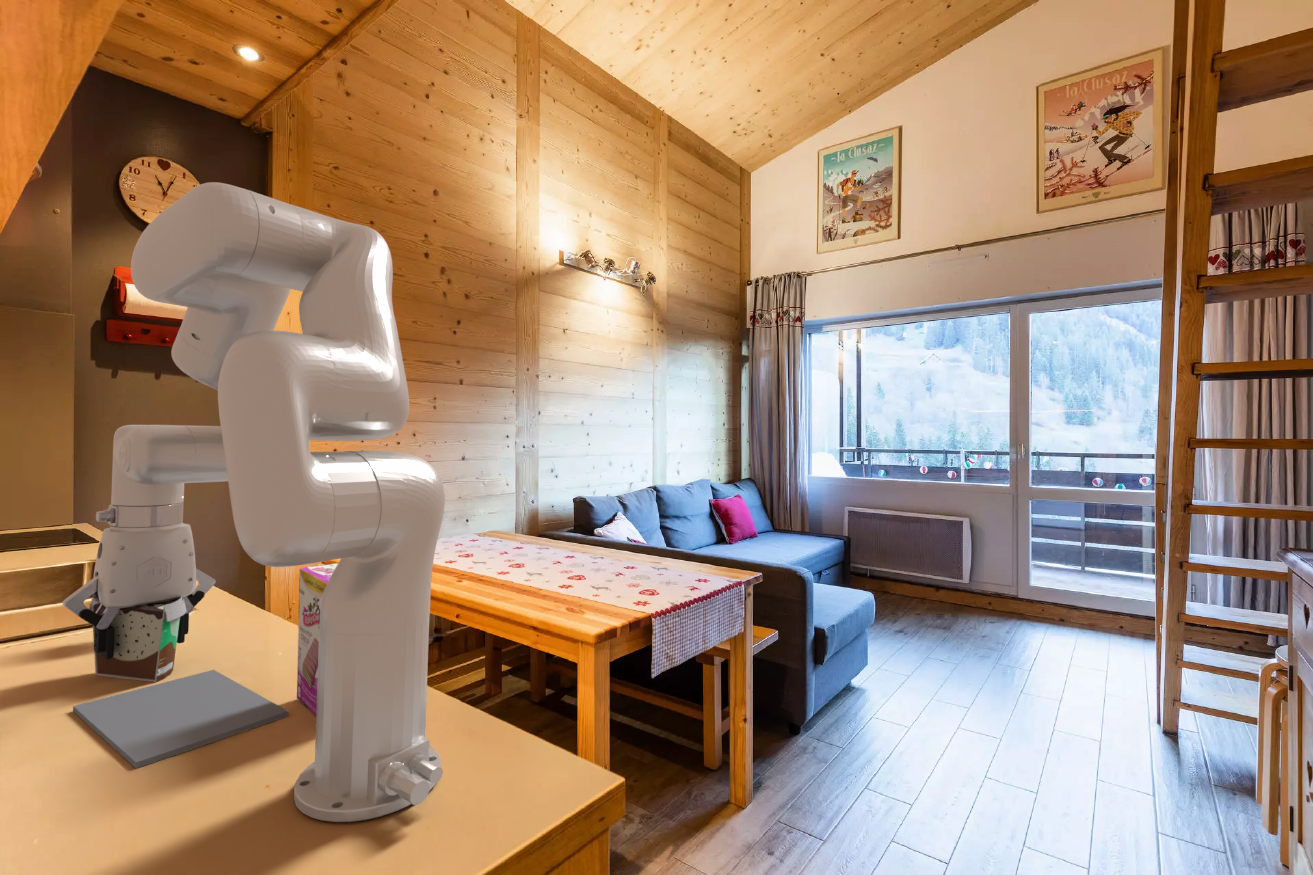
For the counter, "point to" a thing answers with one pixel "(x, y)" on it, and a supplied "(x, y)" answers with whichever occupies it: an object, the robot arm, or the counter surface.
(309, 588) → the candy bar box
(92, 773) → the counter surface
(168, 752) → the mat
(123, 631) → the food container
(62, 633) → the counter surface
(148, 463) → the robot arm
